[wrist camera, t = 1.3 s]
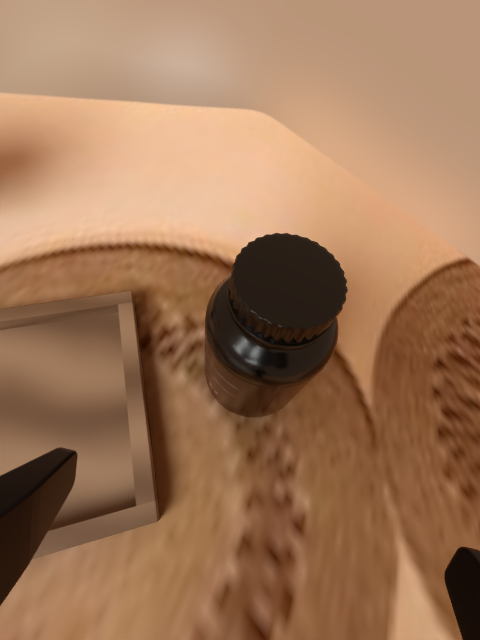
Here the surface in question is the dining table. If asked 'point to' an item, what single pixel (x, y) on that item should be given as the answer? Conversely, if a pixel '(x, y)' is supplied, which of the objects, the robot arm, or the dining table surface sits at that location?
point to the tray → (80, 411)
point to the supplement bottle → (272, 323)
